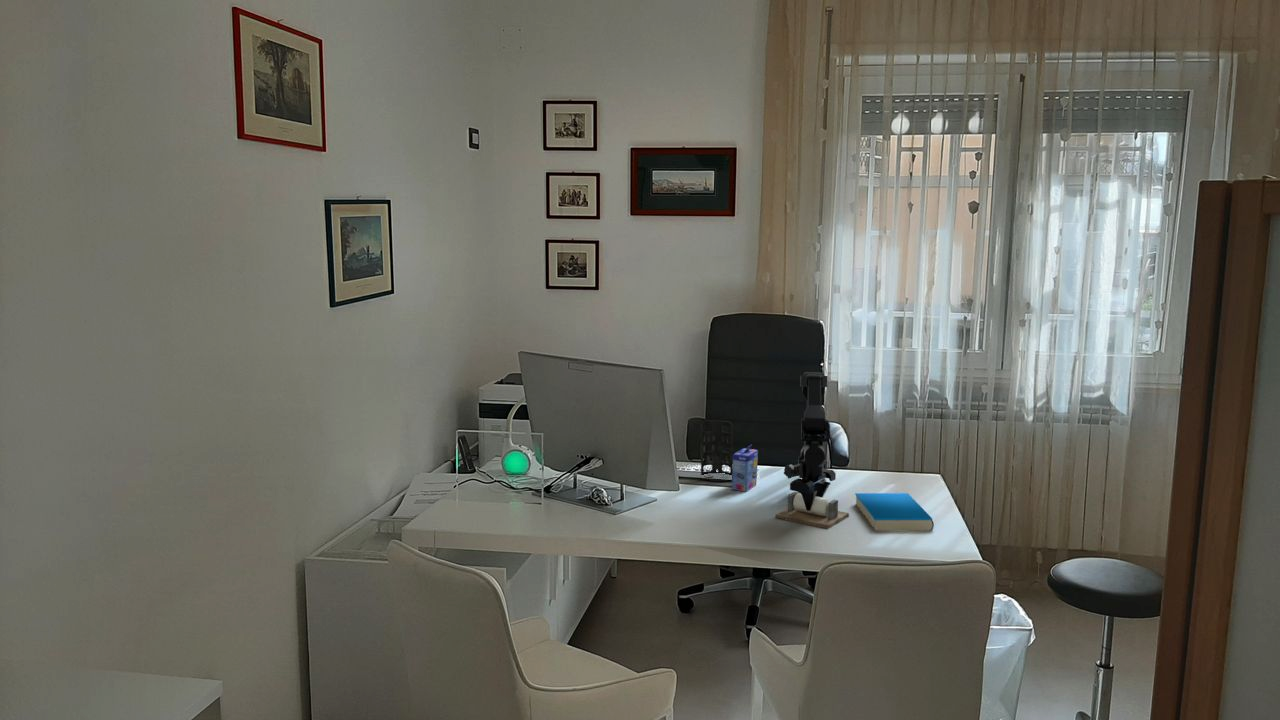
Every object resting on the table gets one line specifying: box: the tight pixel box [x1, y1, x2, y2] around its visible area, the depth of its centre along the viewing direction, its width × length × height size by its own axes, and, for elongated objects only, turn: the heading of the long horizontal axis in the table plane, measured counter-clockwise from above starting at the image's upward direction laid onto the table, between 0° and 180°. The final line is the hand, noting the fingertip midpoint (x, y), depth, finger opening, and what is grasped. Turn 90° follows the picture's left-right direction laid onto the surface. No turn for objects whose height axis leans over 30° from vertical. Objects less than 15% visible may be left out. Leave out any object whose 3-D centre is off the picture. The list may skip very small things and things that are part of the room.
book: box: [854, 492, 935, 531], centre depth 282 cm, size 17×4×25 cm
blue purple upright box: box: [731, 444, 759, 493], centre depth 311 cm, size 10×6×14 cm, turn 152°
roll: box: [793, 492, 832, 516], centre depth 281 cm, size 5×10×5 cm, turn 53°
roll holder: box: [775, 491, 850, 530], centre depth 281 cm, size 14×17×6 cm
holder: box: [699, 420, 733, 483], centre depth 321 cm, size 11×8×20 cm
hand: (812, 508), depth 281 cm, fingers closed on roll, 5 cm apart
